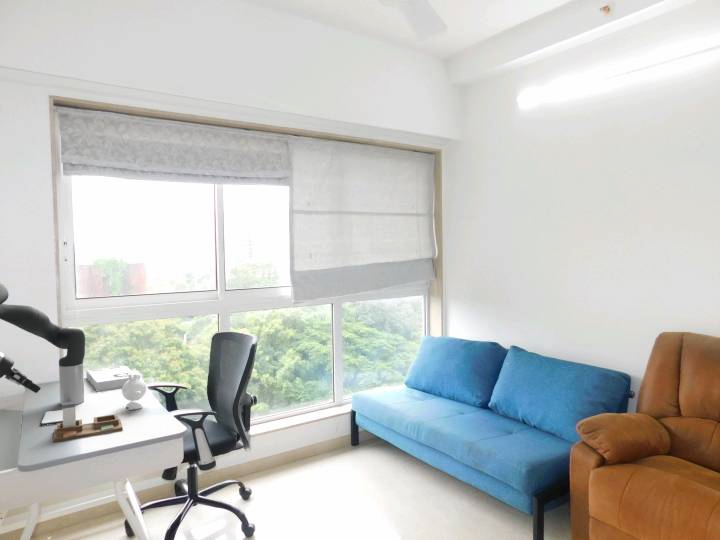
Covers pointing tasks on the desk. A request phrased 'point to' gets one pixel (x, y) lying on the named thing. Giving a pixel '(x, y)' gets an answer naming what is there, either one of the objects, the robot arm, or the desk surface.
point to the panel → (88, 428)
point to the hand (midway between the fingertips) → (34, 388)
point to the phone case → (52, 417)
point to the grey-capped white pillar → (69, 414)
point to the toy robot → (134, 391)
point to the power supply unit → (109, 377)
